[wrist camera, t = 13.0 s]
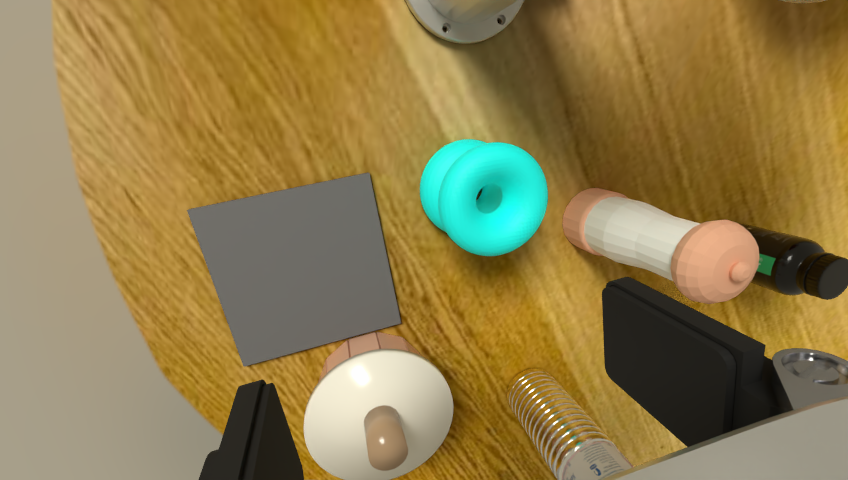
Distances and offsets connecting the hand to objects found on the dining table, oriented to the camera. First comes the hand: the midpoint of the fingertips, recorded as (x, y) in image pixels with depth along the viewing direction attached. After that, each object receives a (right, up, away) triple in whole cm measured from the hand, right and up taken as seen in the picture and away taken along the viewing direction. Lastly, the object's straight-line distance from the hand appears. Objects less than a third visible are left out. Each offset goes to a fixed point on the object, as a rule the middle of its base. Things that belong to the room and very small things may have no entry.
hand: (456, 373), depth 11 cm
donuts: (+3, +9, +33) cm, 34 cm away
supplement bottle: (+40, +3, +44) cm, 60 cm away
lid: (-5, -14, +31) cm, 34 cm away
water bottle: (+13, -16, +43) cm, 47 cm away
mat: (-13, 0, +31) cm, 34 cm away
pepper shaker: (+19, +6, +38) cm, 43 cm away
